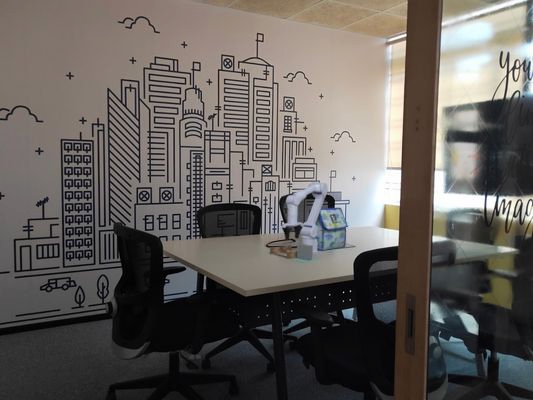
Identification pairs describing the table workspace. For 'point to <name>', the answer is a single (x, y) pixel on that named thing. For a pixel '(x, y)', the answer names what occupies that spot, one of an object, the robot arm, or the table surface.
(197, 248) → the table surface
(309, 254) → the gray rectangular block
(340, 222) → the lunch bag
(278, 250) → the walnut rack
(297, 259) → the teal mat
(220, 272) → the table surface
